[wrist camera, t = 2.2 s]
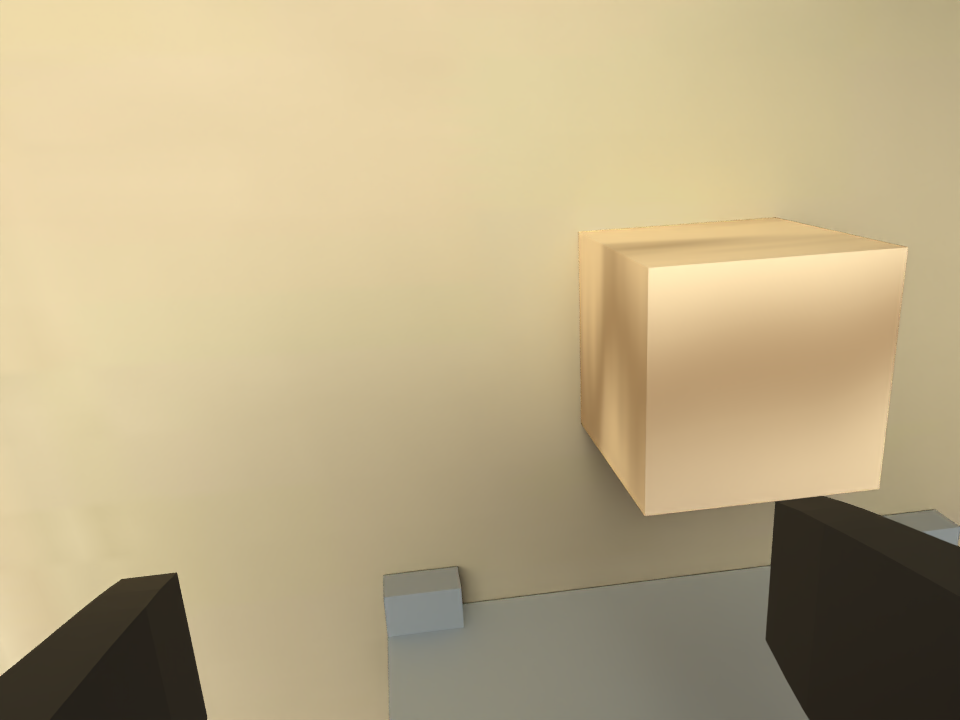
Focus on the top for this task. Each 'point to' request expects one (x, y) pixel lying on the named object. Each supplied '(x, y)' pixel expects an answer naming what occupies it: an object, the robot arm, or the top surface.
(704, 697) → the light grey drawer handle
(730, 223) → the wooden letter cube
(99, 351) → the top surface
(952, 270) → the top surface
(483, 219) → the top surface
